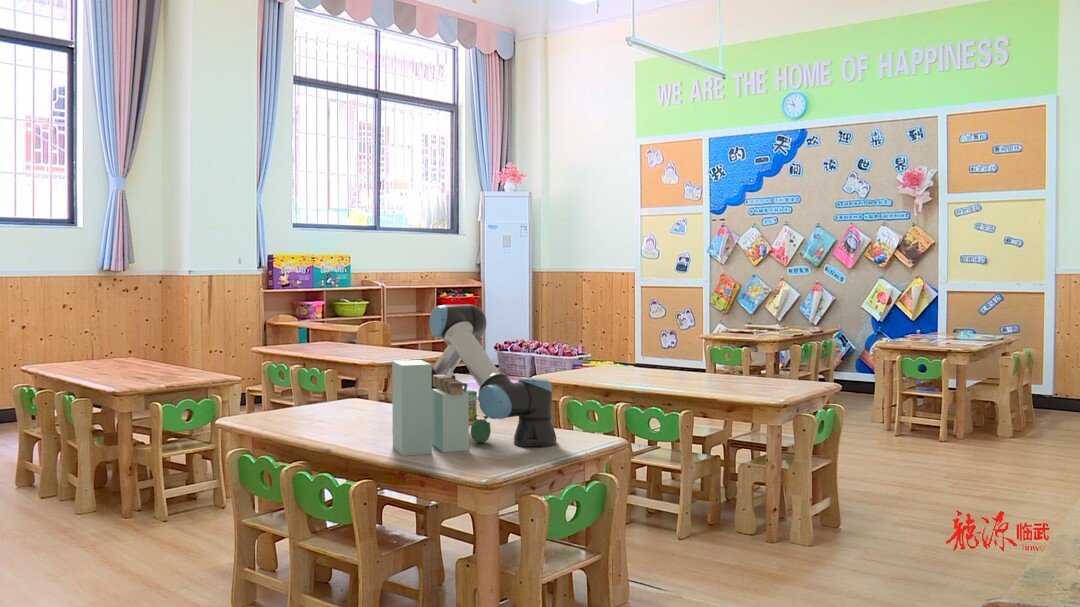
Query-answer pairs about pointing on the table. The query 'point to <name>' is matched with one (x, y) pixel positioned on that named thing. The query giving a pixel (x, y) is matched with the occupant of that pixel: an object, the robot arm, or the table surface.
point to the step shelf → (426, 412)
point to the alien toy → (480, 430)
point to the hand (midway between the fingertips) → (434, 371)
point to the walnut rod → (448, 384)
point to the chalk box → (471, 401)
